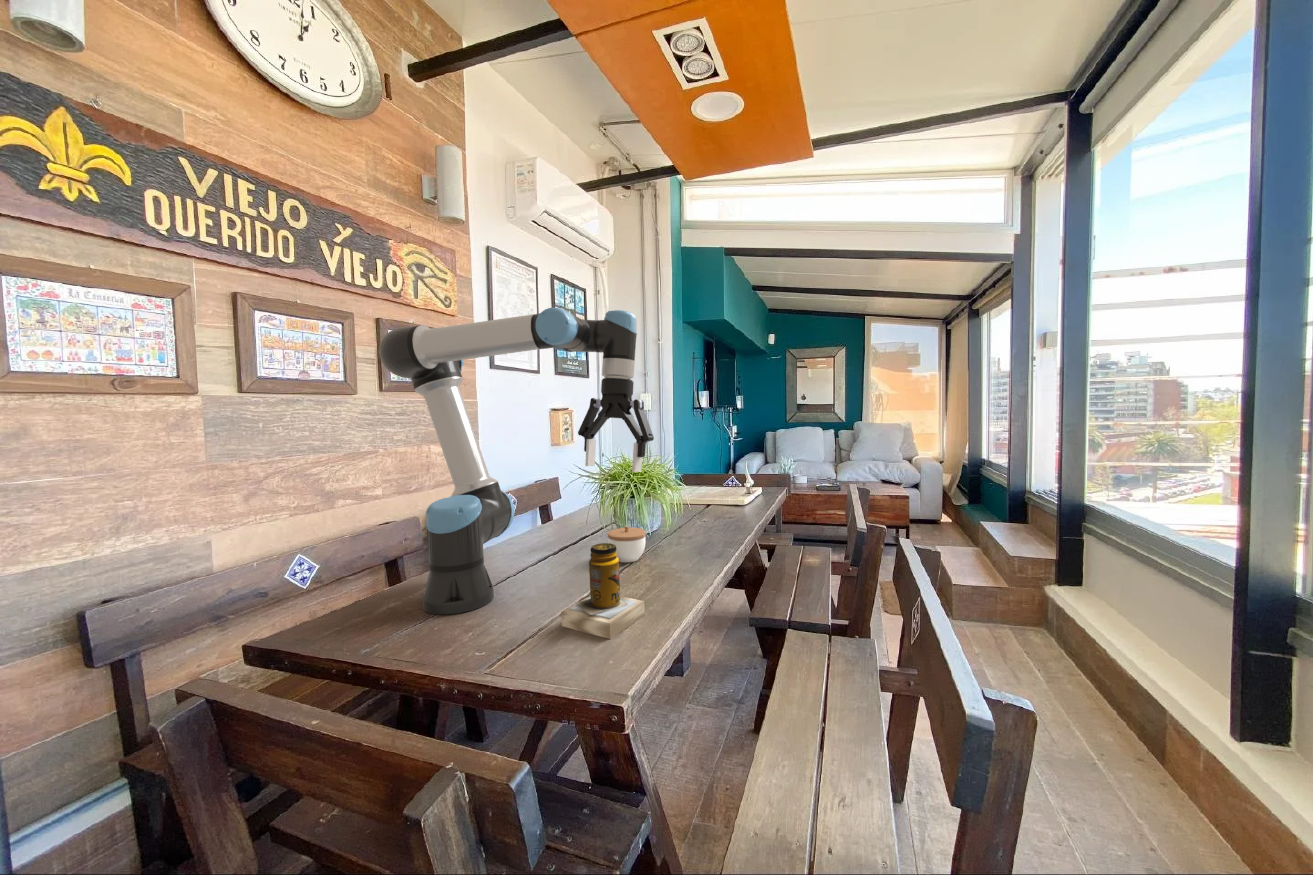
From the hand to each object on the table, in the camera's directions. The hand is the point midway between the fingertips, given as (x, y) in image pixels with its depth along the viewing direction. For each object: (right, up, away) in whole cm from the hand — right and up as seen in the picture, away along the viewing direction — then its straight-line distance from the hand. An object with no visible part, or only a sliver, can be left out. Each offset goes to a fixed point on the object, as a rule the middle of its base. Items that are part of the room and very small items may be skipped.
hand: (612, 468), depth 122 cm
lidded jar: (+2, -27, +24) cm, 36 cm away
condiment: (-1, -27, -17) cm, 32 cm away
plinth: (0, -30, -17) cm, 34 cm away
